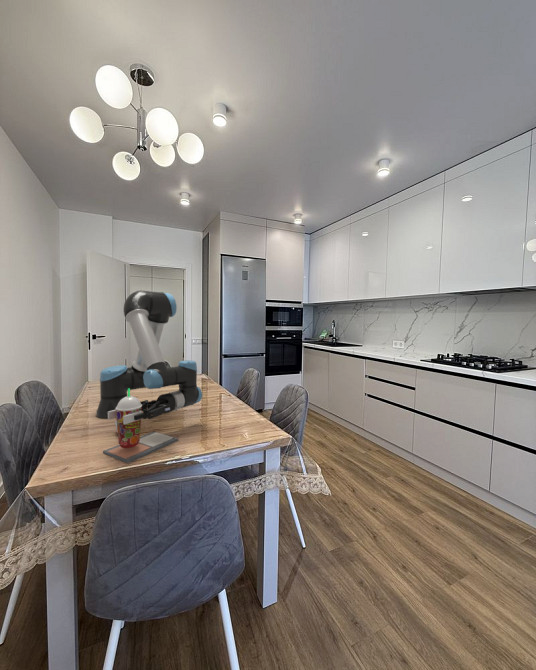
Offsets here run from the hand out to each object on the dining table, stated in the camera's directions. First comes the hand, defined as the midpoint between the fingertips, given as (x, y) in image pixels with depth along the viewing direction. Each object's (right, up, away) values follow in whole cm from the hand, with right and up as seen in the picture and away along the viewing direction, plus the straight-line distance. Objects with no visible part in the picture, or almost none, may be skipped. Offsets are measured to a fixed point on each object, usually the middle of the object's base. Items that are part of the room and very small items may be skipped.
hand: (116, 417), depth 95 cm
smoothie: (+2, -11, +5) cm, 12 cm away
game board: (+5, -13, +9) cm, 17 cm away
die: (-7, -13, +22) cm, 26 cm away
